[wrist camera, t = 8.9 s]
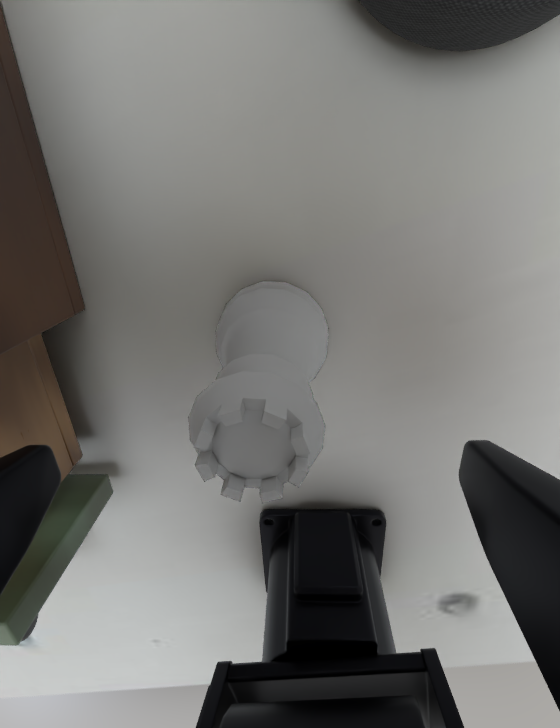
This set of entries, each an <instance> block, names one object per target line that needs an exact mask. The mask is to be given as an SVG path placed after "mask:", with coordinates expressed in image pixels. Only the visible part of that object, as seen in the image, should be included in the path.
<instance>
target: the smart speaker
mask: <svg viewBox="0 0 560 728" xmlns="http://www.w3.org/2000/svg"><path fill="white" fill-rule="evenodd" d="M359 1H360V2H361V4H362V5H363V6H364V7H365V8H366V9H367V10H368V11H369V13H370V14H371V15H373V16H374V17H375V18H376V19H377V20H378V21H379V22H380V23H382V24H383V25H384V26H386V27H387V28H388V29H390V30H391V31H393V32H394V33H396V34H397V35H399V36H401V37H403V38H405V39H407V40H409V41H411V42H414V43H417V44H419V45H422V46H426V47H430V48H434V49H441V50H450V51H462V50H474V49H481V48H486V47H490V46H494V45H498V44H501V43H504V42H506V41H509V40H512V39H515V38H517V37H519V36H521V35H523V34H525V33H527V32H529V31H532V30H534V29H536V28H537V27H539V26H541V25H542V24H544V23H546V22H548V21H549V20H551V19H553V18H554V17H556V16H557V15H559V14H560V0H359Z"/></svg>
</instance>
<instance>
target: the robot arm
mask: <svg viewBox="0 0 560 728" xmlns="http://www.w3.org/2000/svg"><path fill="white" fill-rule="evenodd" d="M459 481H460V484H461V487H462V490H463V493H464V496H465V499H466V501H467V504H468V507H469V510H470V513H471V516H472V518H473V521H474V524H475V527H476V530H477V533H478V535H479V538H480V541H481V544H482V546H483V549H484V552H485V554H486V556H487V559H488V561H489V563H490V565H491V568H492V570H493V572H494V574H495V576H496V578H497V580H498V582H499V584H500V586H501V589H502V591H503V593H504V595H505V597H506V599H507V601H508V603H509V605H510V608H511V610H512V612H513V614H514V616H515V618H516V620H517V622H518V624H519V627H520V629H521V631H522V633H523V635H524V637H525V639H526V641H527V643H528V645H529V648H530V650H531V652H532V654H533V656H534V658H535V660H536V662H537V664H538V667H539V668H540V671H541V673H542V675H543V677H544V679H545V681H546V683H547V685H548V688H549V690H550V692H551V694H552V696H553V698H554V700H555V702H556V704H557V707H558V709H559V711H560V480H559V479H557V478H555V477H554V476H552V475H550V474H548V473H546V472H544V471H543V470H541V469H539V468H537V467H535V466H534V465H532V464H530V463H528V462H526V461H525V460H523V459H521V458H519V457H517V456H515V455H514V454H512V453H510V452H508V451H506V450H505V449H503V448H501V447H499V446H497V445H495V444H494V443H492V442H490V441H487V440H470V441H468V442H466V444H465V446H464V449H463V454H462V459H461V464H460V469H459ZM60 483H61V471H60V469H59V466H58V463H57V461H56V458H55V455H54V453H53V450H52V448H51V447H50V446H48V445H27V446H25V447H23V448H20V449H18V450H16V451H14V452H12V453H10V454H7V455H5V456H3V457H1V458H0V595H1V594H2V592H3V590H4V589H5V587H6V585H7V584H8V582H9V581H10V579H11V577H12V576H13V574H14V572H15V571H16V569H17V567H18V566H19V564H20V562H21V561H22V559H23V557H24V555H25V554H26V552H27V550H28V548H29V546H30V545H31V543H32V541H33V539H34V537H35V535H36V533H37V531H38V529H39V527H40V524H41V522H42V520H43V518H44V516H45V514H46V512H47V510H48V508H49V506H50V504H51V502H52V500H53V498H54V496H55V494H56V492H57V490H58V488H59V486H60ZM268 519H272V520H268ZM374 519H377V520H374ZM259 523H260V533H261V543H262V554H263V564H264V575H265V585H266V592H267V605H266V618H265V631H264V644H263V658H262V662H252V663H236V664H232V662H231V661H224V662H218V663H217V665H216V669H215V672H214V675H213V678H212V682H211V685H210V686H209V687H208V691H207V693H206V697H205V700H204V703H203V707H202V710H201V713H200V716H199V719H198V722H197V726H196V728H464V726H463V723H462V720H461V718H460V715H459V712H458V709H457V707H456V704H455V701H454V698H453V696H452V693H451V690H450V688H449V685H448V682H447V680H446V677H445V674H444V671H443V668H442V666H441V663H440V660H439V658H438V655H437V652H436V650H435V648H429V649H421V652H413V653H397V654H396V649H395V645H394V640H393V636H392V631H391V626H390V622H389V617H388V613H387V608H386V603H385V599H384V594H383V590H382V585H381V580H380V576H381V567H382V558H383V548H384V539H385V530H386V519H385V515H384V513H383V512H382V511H380V510H376V509H268V510H264V511H262V513H261V515H260V522H259Z"/></svg>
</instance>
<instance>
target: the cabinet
mask: <svg viewBox="0 0 560 728" xmlns="http://www.w3.org/2000/svg"><path fill="white" fill-rule="evenodd" d="M83 310H85V306H84V302H83V299H82V295H81V292H80V288H79V285H78V281H77V277H76V274H75V270H74V267H73V263H72V260H71V256H70V252H69V249H68V245H67V242H66V238H65V234H64V231H63V227H62V224H61V220H60V217H59V213H58V209H57V206H56V202H55V199H54V195H53V192H52V188H51V184H50V181H49V177H48V174H47V170H46V166H45V163H44V159H43V156H42V152H41V149H40V145H39V141H38V138H37V134H36V131H35V127H34V123H33V120H32V116H31V113H30V109H29V106H28V102H27V98H26V95H25V91H24V88H23V84H22V81H21V77H20V73H19V70H18V66H17V63H16V59H15V55H14V52H13V48H12V45H11V41H10V38H9V34H8V30H7V27H6V23H5V20H4V16H3V13H2V9H1V5H0V355H1V354H3V353H5V352H7V351H9V350H10V349H12V348H14V347H16V346H18V345H20V344H22V343H24V342H25V341H27V340H29V339H31V338H33V337H35V336H37V335H39V334H41V333H42V332H44V331H46V330H48V329H50V328H52V327H54V326H56V325H57V324H59V323H61V322H63V321H65V320H67V319H69V318H71V317H72V316H74V315H76V314H78V313H80V312H82V311H83Z"/></svg>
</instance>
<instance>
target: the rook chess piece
mask: <svg viewBox="0 0 560 728" xmlns="http://www.w3.org/2000/svg"><path fill="white" fill-rule="evenodd" d="M327 347H328V326H327V322H326V319H325V316H324V313H323V310H322V308H321V307H320V306H319V305H318V304H317V303H316V301H315V300H314V299H313V298H312V297H311V296H310V295H309V294H308V292H306V291H304V290H302V289H300V288H298V287H295V286H293V285H291V284H289V283H287V282H272V281H262V282H259V283H257V284H254V285H251V286H248V287H246V288H243V289H241V290H240V291H239V292H238V293H237V294H236V295H235V296H234V297H233V298H232V299H231V300H230V301H229V302H228V303H227V304H226V306H225V308H224V311H223V313H222V316H221V318H220V320H219V323H218V326H217V329H216V352H217V356H218V358H219V360H220V362H221V364H222V366H223V369H222V370H221V371H220V372H218V375H217V377H216V379H215V381H214V382H213V383H212V384H211V385H209V386H208V387H207V388H206V389H205V390H204V391H202V392H201V393H200V394H199V395H198V396H197V397H196V400H195V402H194V405H193V407H192V409H191V412H190V414H189V417H188V422H189V434H190V441H191V442H192V444H193V447H194V448H195V450H196V451H197V453H198V458H197V461H196V463H195V467H196V468H197V470H198V472H199V473H200V475H201V477H202V479H203V480H204V482H205V481H207V480H209V479H211V478H214V477H215V475H216V474H217V475H218V476H220V477H221V478H222V479H223V480H224V483H223V487H222V490H221V494H220V495H223V496H226V497H228V498H231V499H234V500H236V501H239V502H241V498H242V494H243V490H244V487H246V488H260V497H261V501H262V503H266V502H270V501H274V500H278V499H282V494H283V484H284V483H285V482H287V481H288V482H290V483H292V484H293V485H295V486H297V487H298V488H299V486H300V485H301V483H302V482H303V480H304V479H305V477H306V476H307V474H308V472H309V467H310V466H311V465H312V464H313V462H314V460H315V459H316V457H317V456H318V454H319V453H320V451H321V450H322V448H323V441H324V432H325V423H324V421H323V418H322V415H321V413H320V410H319V407H318V405H317V403H316V402H315V401H314V400H313V393H312V390H311V388H310V385H309V382H310V381H312V380H313V379H314V378H315V377H316V375H317V373H318V371H319V370H320V368H321V366H322V364H323V363H324V361H325V359H326V356H327Z"/></svg>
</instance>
